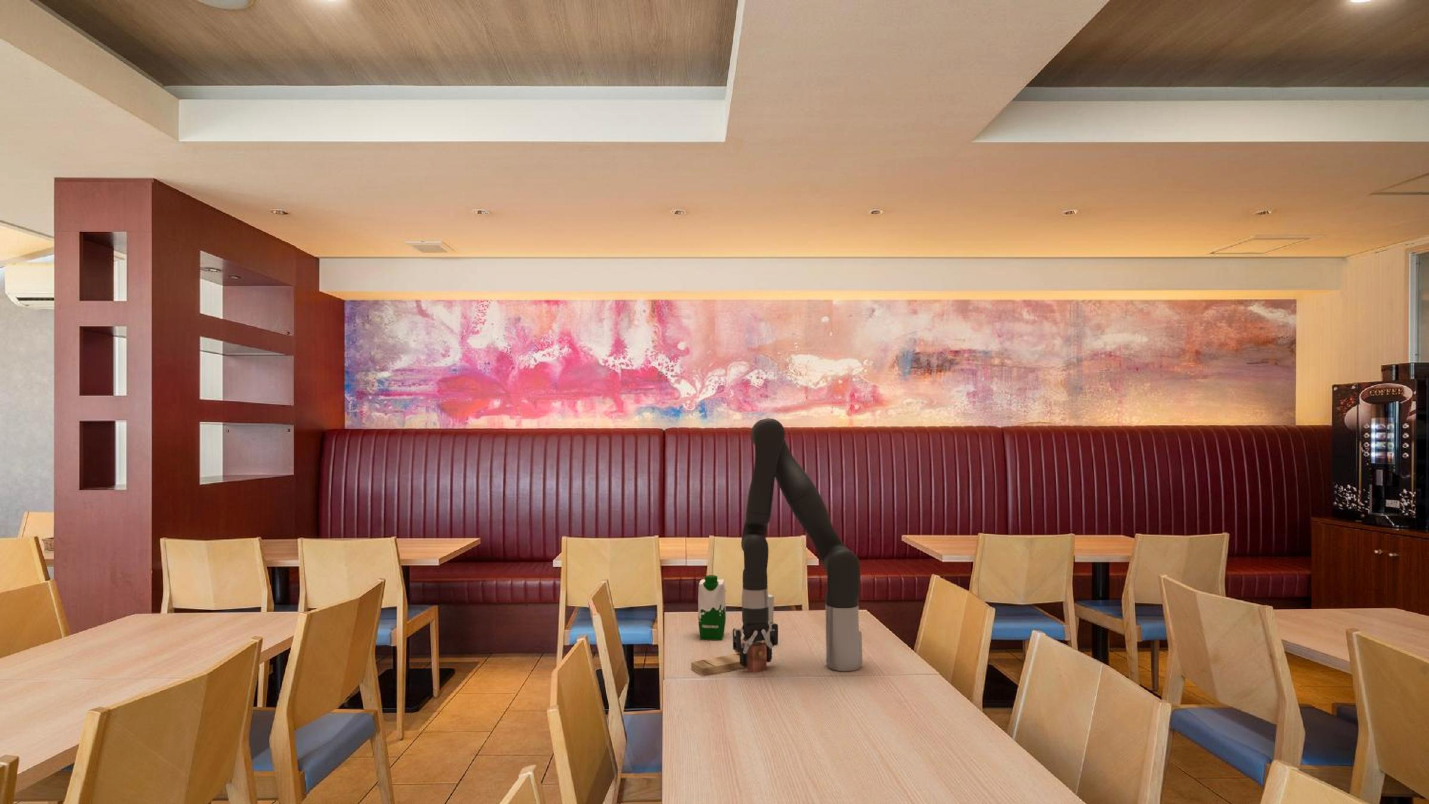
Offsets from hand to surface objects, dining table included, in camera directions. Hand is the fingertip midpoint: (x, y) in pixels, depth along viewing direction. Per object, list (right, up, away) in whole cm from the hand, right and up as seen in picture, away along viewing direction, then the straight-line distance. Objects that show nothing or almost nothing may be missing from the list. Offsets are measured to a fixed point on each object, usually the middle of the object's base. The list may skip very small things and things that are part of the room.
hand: (756, 663), depth 206 cm
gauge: (-2, -2, +3) cm, 4 cm away
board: (-8, -2, +2) cm, 9 cm away
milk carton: (-12, -3, +33) cm, 36 cm away
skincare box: (+2, -3, +26) cm, 26 cm away
